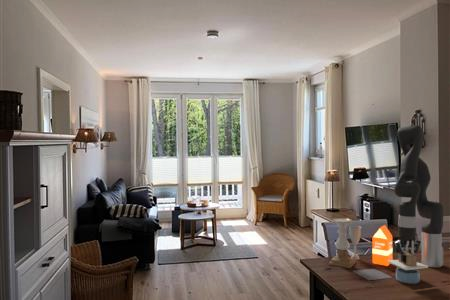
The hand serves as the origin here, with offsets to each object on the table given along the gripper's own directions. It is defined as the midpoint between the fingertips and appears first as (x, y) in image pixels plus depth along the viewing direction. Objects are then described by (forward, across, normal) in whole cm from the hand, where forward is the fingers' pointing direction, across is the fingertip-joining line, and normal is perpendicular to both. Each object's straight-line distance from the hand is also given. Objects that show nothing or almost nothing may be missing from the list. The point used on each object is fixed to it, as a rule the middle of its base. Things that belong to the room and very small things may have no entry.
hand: (407, 262), depth 169 cm
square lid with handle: (+1, 0, 0) cm, 1 cm away
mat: (+9, +11, -11) cm, 18 cm away
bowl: (+9, 0, 0) cm, 9 cm away
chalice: (+9, +3, -35) cm, 36 cm away
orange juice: (+9, -6, -24) cm, 26 cm away
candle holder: (+9, +15, -29) cm, 34 cm away
